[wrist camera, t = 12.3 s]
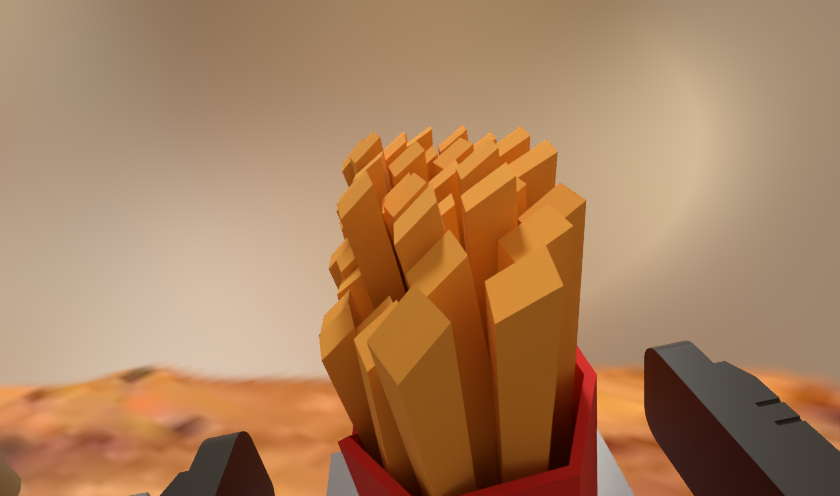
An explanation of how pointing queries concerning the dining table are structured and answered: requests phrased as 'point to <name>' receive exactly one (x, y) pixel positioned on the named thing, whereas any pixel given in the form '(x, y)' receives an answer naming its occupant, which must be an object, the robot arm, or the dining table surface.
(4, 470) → the cork
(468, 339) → the french fries
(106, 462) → the dining table surface
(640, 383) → the dining table surface
